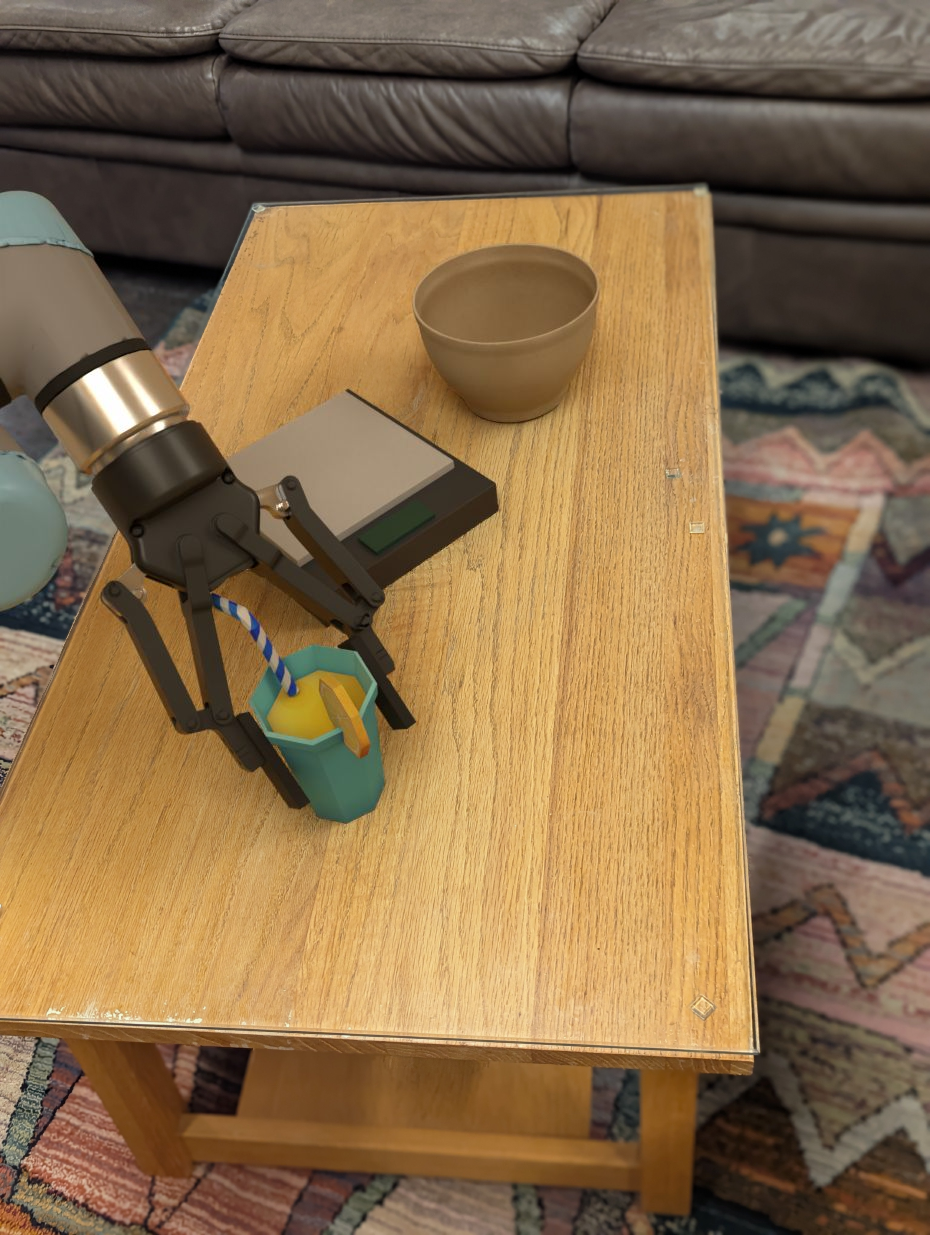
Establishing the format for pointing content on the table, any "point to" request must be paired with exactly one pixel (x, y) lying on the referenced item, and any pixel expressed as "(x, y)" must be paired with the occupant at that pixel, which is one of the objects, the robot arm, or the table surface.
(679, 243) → the table surface
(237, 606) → the cup
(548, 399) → the planter bowl
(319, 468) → the scale
